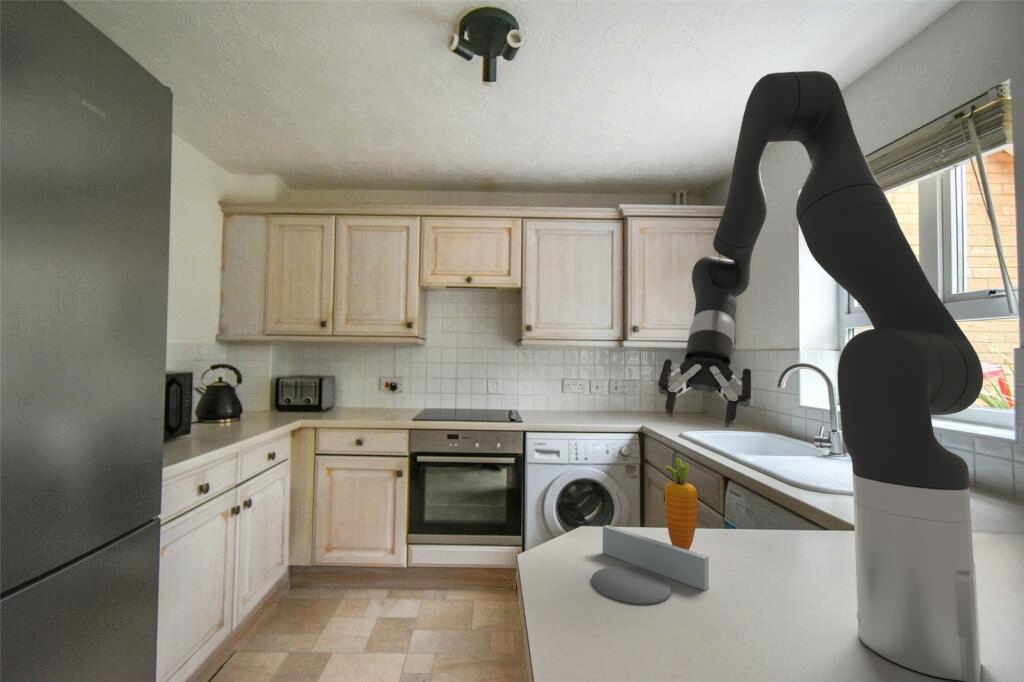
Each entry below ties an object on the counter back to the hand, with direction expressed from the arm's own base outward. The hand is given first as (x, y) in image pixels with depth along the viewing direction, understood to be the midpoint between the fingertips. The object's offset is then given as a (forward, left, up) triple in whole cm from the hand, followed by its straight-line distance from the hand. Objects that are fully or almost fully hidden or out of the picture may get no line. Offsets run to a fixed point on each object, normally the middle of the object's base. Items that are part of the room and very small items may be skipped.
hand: (698, 420), depth 72 cm
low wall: (+2, +11, -21) cm, 24 cm away
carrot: (+1, +4, -21) cm, 22 cm away
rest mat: (+1, +18, -21) cm, 28 cm away
